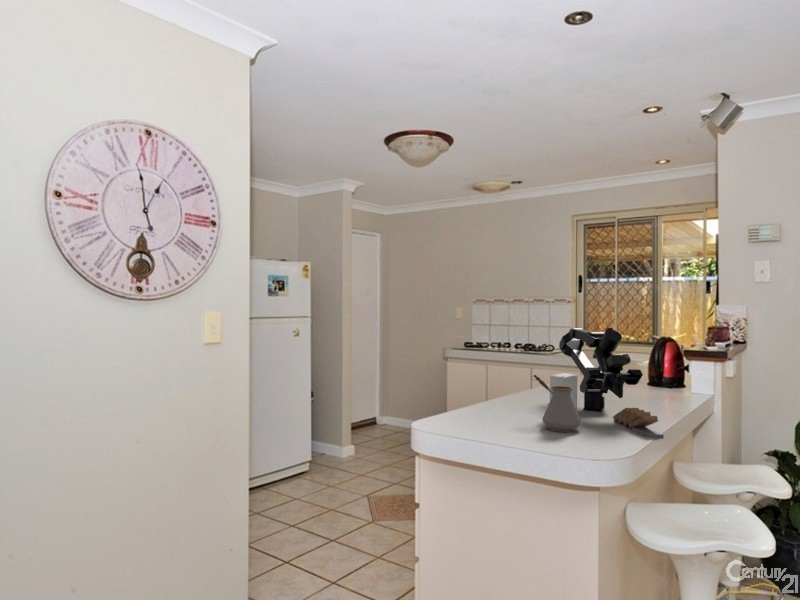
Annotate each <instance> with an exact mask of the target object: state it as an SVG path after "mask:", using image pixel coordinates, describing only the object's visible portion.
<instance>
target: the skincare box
mask: <svg viewBox="0 0 800 600" xmlns="http://www.w3.org/2000/svg"><path fill="white" fill-rule="evenodd" d="M578 376H579V375H577V374H572V373H566V372H562V373H561V372H560V373H556V374H551V375H550V376H549V388H550V389H551V387H555V386H562V387H571V388H572V390H571V393H570V396H571V398H572V401H573V403H574V406H575V408H576V410H577V411H578ZM551 390H552V389H551ZM552 396H553V395H552V394H551V393H550V392H549V401H550V400H551V398H552Z"/></svg>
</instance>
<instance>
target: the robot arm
mask: <svg viewBox="0 0 800 600" xmlns="http://www.w3.org/2000/svg"><path fill="white" fill-rule="evenodd" d="M622 339H623V336H622V334H621V333H619V331H617V330H615V329H614V328H613V327H606V328H605V331H590V330H586V329H584V328H582V327H572V328H570V329H569V331H568V332H567V333H566V334H564V335H562V337H561V338H560V340H559V344H558V347H559V350H560V351H561V352H562V354H563V355H565V356H566V357H569V358H571V359H572V361H573V363H574V364H575V366H576V367H577V368H578V369H579V371H580V372H581V374H582V375H583V378H582V380H581V383H580V384H579V391H580V392H581V393H583V399H584V400H583V401H584V402H583V404H584V405H583V408H582V409H583V410H584V411H586V410H587V411H597V412H602V411H603V410H604V409H605V406H606V405H605V404H606V403H605V402H606V401H605V400H606V399H605V396H604V394H608V391H610V392H612V394H614V395H615V396H616V397H618V398H619V399H623V397H624V384H626V385H628V386H636V385H638V384H639V382H640V381H641V378H642V377H643V375H644V374H643V372H642V370H641V369H639V368H637V369H636V368H631V369H630V368H629V369H628V370H627V372H623V370H624V366H626V365H629V364H630V363H631V362H632V361H631V357H630V355H629V354H628V353H623V354H613V353H614V352H615V351H616V350H617V348H618V346H619V344H620V342H621V340H622ZM584 345H586V346H587V347H588V348H590V349H592V348H593V349H594V351H593V354H592V358H593V359H596V361H597V364H598V366H597V367H595V366H594V365H593V363H592V362H591V361H590V360H589V359H588V357H587V355H586V354H585V353H584V352H583V347H584Z"/></svg>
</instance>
